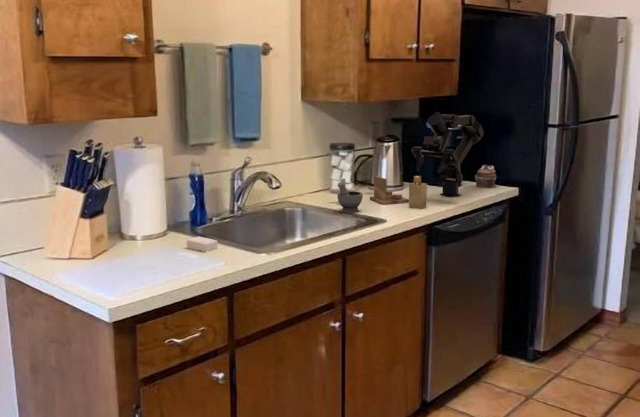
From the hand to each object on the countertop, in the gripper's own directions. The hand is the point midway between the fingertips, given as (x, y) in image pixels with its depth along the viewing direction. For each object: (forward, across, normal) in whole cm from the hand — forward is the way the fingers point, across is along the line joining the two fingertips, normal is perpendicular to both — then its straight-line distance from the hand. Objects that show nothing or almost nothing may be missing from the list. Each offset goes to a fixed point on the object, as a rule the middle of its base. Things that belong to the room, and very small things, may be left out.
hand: (427, 171), depth 269 cm
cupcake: (-23, +3, +46) cm, 51 cm away
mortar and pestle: (+30, -18, -14) cm, 37 cm away
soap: (+77, -24, -66) cm, 104 cm away
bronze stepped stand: (+13, -15, +5) cm, 21 cm away
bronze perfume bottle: (+15, +1, +2) cm, 16 cm away
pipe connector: (+22, -29, -5) cm, 36 cm away
